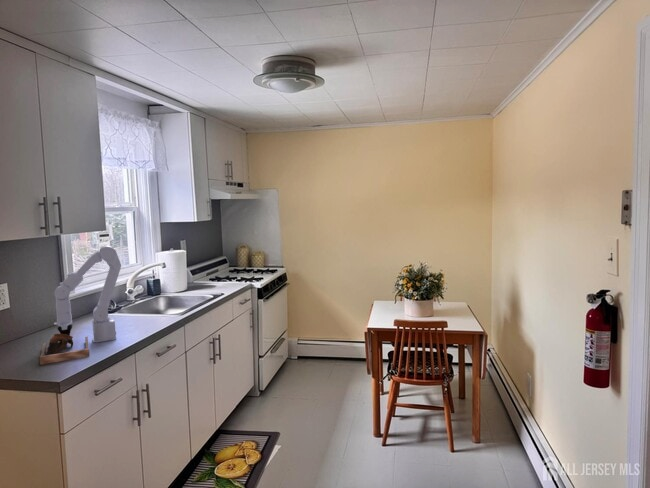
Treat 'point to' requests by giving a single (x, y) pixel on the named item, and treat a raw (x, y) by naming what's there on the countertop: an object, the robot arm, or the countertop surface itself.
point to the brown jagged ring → (61, 345)
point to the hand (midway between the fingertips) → (66, 341)
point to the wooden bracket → (63, 354)
